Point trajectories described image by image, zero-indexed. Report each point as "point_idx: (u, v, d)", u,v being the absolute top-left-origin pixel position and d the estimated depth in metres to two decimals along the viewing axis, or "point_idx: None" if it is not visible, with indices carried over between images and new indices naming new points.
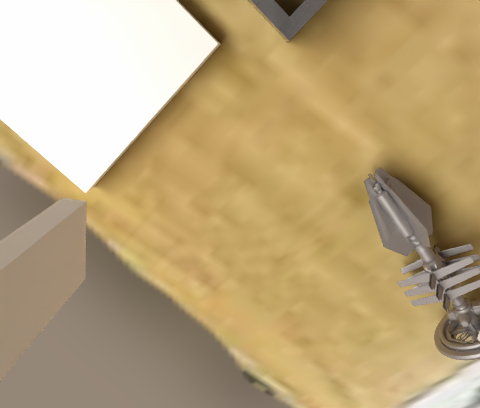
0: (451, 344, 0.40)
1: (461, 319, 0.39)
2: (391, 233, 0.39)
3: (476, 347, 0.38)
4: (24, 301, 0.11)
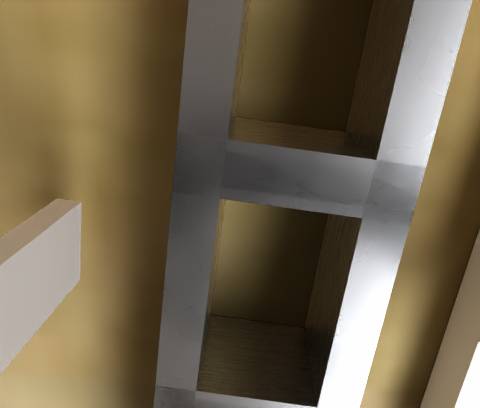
0: None
1: None
2: None
3: None
4: (17, 303, 0.10)
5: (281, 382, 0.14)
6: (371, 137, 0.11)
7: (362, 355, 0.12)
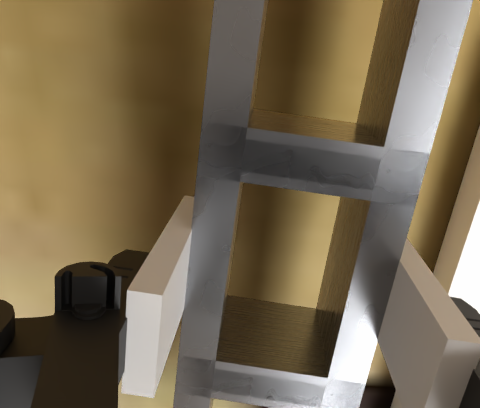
0: None
1: None
2: None
3: None
4: (182, 283, 0.12)
5: (294, 355, 0.15)
6: (379, 126, 0.12)
7: (370, 329, 0.13)
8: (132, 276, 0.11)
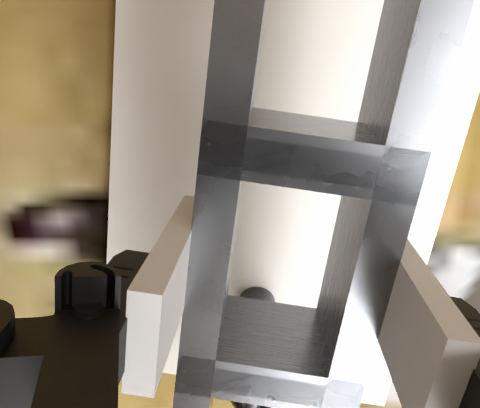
0: None
1: None
2: None
3: None
4: (182, 283, 0.12)
5: (294, 355, 0.15)
6: (381, 125, 0.12)
7: (370, 329, 0.13)
8: (132, 276, 0.11)
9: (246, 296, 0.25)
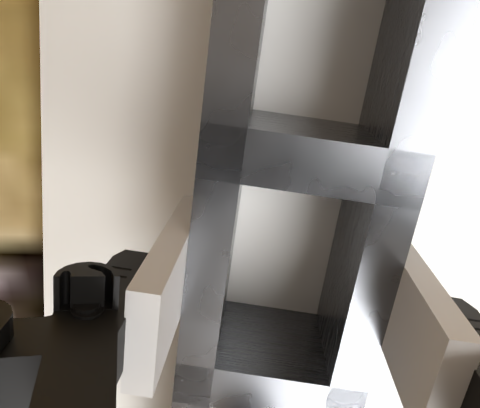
0: None
1: None
2: None
3: None
4: (181, 283, 0.12)
5: (295, 363, 0.14)
6: (384, 127, 0.12)
7: (373, 336, 0.13)
8: (131, 276, 0.11)
9: None
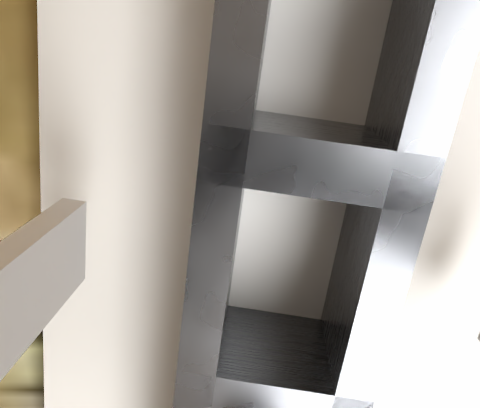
0: None
1: None
2: None
3: None
4: (24, 301, 0.11)
5: (299, 371, 0.14)
6: (391, 129, 0.11)
7: (380, 344, 0.13)
8: None
9: None
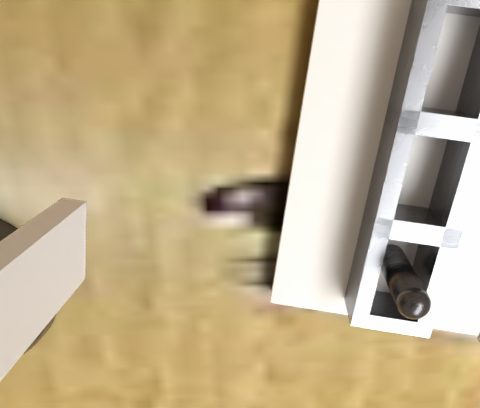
0: None
1: None
2: None
3: None
4: (24, 301, 0.11)
5: (427, 220, 0.32)
6: (474, 111, 0.29)
7: (467, 202, 0.30)
8: None
9: (386, 250, 0.35)
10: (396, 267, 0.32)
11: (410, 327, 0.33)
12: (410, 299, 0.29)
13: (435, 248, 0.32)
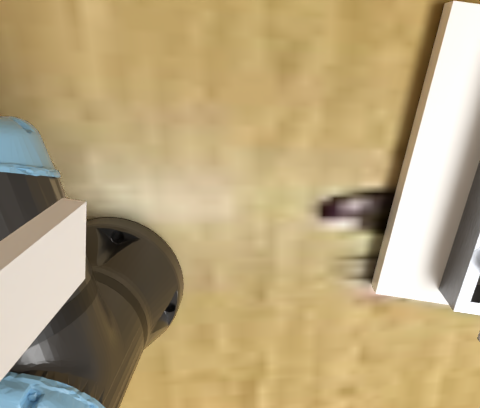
0: None
1: None
2: None
3: None
4: (24, 301, 0.11)
5: None
6: None
7: None
8: None
9: None
10: None
11: None
12: None
13: None
